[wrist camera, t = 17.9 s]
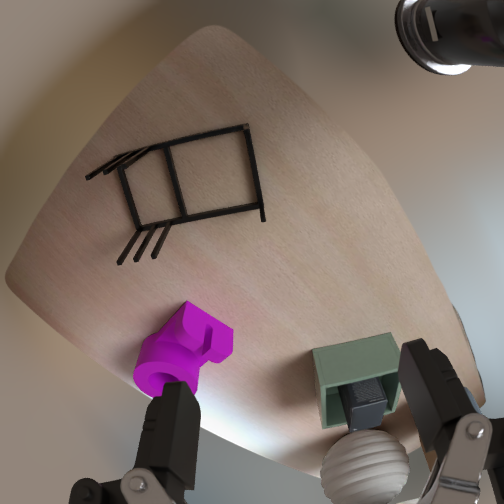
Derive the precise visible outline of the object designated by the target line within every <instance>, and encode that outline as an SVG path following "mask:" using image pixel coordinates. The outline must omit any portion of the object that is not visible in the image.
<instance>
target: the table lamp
mask: <svg viewBox="0 0 504 504" xmlns="http://www.w3.org/2000/svg"><path fill="white" fill-rule="evenodd" d="M408 463H409V458H408V455H407V454H406V450H405V447H404V446H403V445H402V444H401V443H400V442H399V440H398V439H397V438H396V437H394V436H391V435H390V434H389V433H387V432H385V431H379V430H374V429H365V430H360V431H356V432H353V433H350V434H348V435H346V436H344V437H342V438H341V439H340V440H338V441H337V442H336V444H334V445H333V446H332V447H331V448H330V449H329V451H328V453H327V455H326V457H325V458H324V459H323V463H322V469H321V471H320V475H321V478H322V480H321V485H322V487H323V488H324V493H325V495H326V497H328V498H329V499H331V501H332V503H333V504H387V503H389V502H390V501H391V500H392V499H393V498H394V497H396V496H397V495H398V494H399V493H400V491H401V490H402V487H403V486H404V485H405V484H406V481H407V476H408V474H409V471H410V466H409V464H408ZM418 500H419V498H417V499H412V500H408V501H404V502H400V503H397V504H417V502H418Z"/></svg>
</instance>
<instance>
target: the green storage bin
mask: <svg viewBox="0 0 504 504" xmlns="http://www.w3.org/2000/svg"><path fill="white" fill-rule="evenodd" d="M312 354H313V366H314V378H315V391H316V399H317V404H318V410H319V415H320V420H321V425H322V429H326V428H332V427H337V426H341V425H346V424H347V421H346V417H345V413H344V410H343V406H342V402H341V399H340V395H339V391H338V388H337V386H339V385H344V384H348V383H353V382H357V381H361V380H366V379H370V378H374V377H379V380H380V382H381V385H382V388H383V390H384V393H385V395H386V398H387V403H386V407H385V410H384V414H383V415H386V414H390V413H393V412H395V410H396V407H397V403H398V399H399V396H400V392H401V388H402V387H401V385H400V382H399V377H398V366H399V360H400V354H401V352H400V350H399V348H398V346H397V344H396V342H395V340H394V338H393V336H392V334H391V332H390V333H386V334H382V335H378V336H373V337H369V338H365V339H360V340H356V341H351V342H346V343H342V344H337V345H332V346H327V347H322V348H316V349H312Z"/></svg>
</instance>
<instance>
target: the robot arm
mask: <svg viewBox="0 0 504 504" xmlns="http://www.w3.org/2000/svg"><path fill="white" fill-rule="evenodd" d="M411 24H412V29H413V33H414V35H415V38H416V40H417V42H418V43H419V45H420V46H421V48H422V49H423V50H424V52H425V53H426V54H427V55H428V56H430V57H431V58H432V59H433V60H435V61H437V62H439V63H441V64H444V65H450V66H457V65H479V66H496V67H504V0H419V1H418V2H417V3H416V4H415V6H414V7H413V10H412V15H411ZM398 377H399V382H400V385H401V387H402V390H403V392H404V395H405V397H406V400H407V402H408V405H409V408H410V410H411V413H412V415H413V418H414V421H415V424H416V426H417V429H418V432H419V435H420V437H421V440H422V443H423V446H424V449H425V452H426V453H428V452H431V451H433V450H435V452H436V455H437V458H436V460H435V463H434V466H433V468H432V471H431V473H430V475H429V478H428V480H427V483H426V485H425V487H424V489H423V492H422V494H421V496H420V498H419V500H418V502H417V504H477V502H478V499H479V495H480V488H479V487H478V485H479V480H480V477H481V474H482V471H483V470H484V469H485V470H486V469H487V471H488V474H489V477H490V480H491V484H492V487H493V491H494V494H495V498H496V502H497V504H504V418H498V419H488V418H487V417H485V416H484V415H482V414H479V413H478V412H477V411H476V410H475V408H474V407H473V405H472V403H471V401H470V399H469V397H468V395H467V393H466V391H465V389H464V387H463V385H462V383H461V381H460V379H459V378H458V377H457V374H456V372H455V370H454V369H453V366H452V365H451V363H450V361H449V359H448V357H447V356H446V355H445V354H443V353H442V352H441V351H440V350H438V349H437V348H435V349H432V350H429V348H428V346H427V344H426V342H425V341H424V340H423V339H422V338H420V339H416V340H413V341H409V342H406V343H403V344H402V348H401V354H400V360H399V366H398ZM200 420H201V411H200V406H199V403H198V401H197V400H196V398H195V396H194V394H193V393H192V391H191V389H190V387H189V386H188V384H187V382H186V381H175V382H166V383H165V384H164V386H163V390H162V395H161V396H155V397H154V398H153V400H152V401H151V403H150V404H149V405H148V407H147V411H146V415H145V421H144V425H143V431H142V433H141V438H140V442H139V447H138V452H137V457H136V461H135V465H134V467H133V469H132V470H130V471H128V472H127V473H126V474H125V475H124V476H123V478H122V479H119V480H115V481H110V482H105V483H98V482H96V481H95V480H93V479H90V478H83V479H80V480H78V481H77V482H76V483H75V484H74V485H73V487H72V490H71V494H70V499H69V504H187V502H186V501H185V499H184V491H185V490H194V485H195V473H196V462H197V451H198V440H199V430H200Z"/></svg>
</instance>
